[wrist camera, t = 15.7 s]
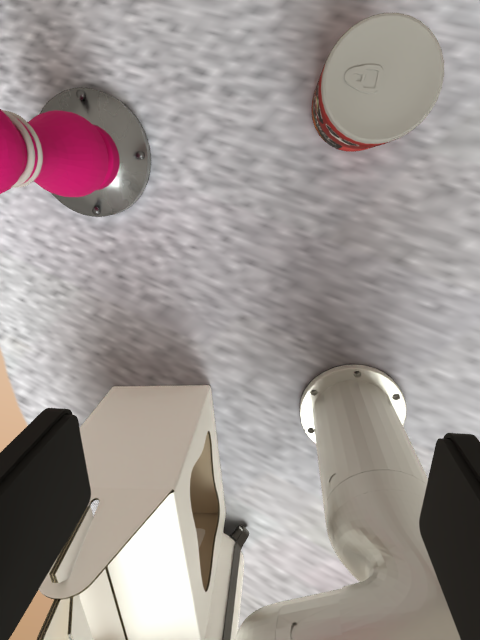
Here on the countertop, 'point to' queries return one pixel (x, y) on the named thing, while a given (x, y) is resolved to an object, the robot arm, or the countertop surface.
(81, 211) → the grey metal disc
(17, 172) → the pepper mill
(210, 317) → the countertop surface
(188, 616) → the gable box
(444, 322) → the countertop surface
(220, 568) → the coffee press
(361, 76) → the canned food
